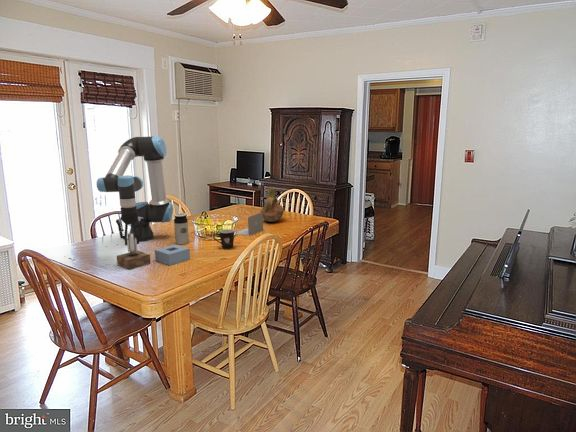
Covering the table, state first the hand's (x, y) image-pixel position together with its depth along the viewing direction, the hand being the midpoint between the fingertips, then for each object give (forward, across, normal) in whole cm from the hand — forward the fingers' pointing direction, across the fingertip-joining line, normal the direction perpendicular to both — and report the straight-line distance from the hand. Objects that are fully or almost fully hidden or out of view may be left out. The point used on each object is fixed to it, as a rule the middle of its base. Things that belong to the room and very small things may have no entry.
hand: (132, 250), depth 215 cm
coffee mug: (+8, +51, +12) cm, 53 cm away
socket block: (+8, +20, 0) cm, 21 cm away
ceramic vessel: (+8, +97, +65) cm, 117 cm away
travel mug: (+8, +28, +31) cm, 43 cm away
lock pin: (+6, 0, 0) cm, 6 cm away
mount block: (+8, 0, 0) cm, 8 cm away
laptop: (+9, +73, +42) cm, 84 cm away
